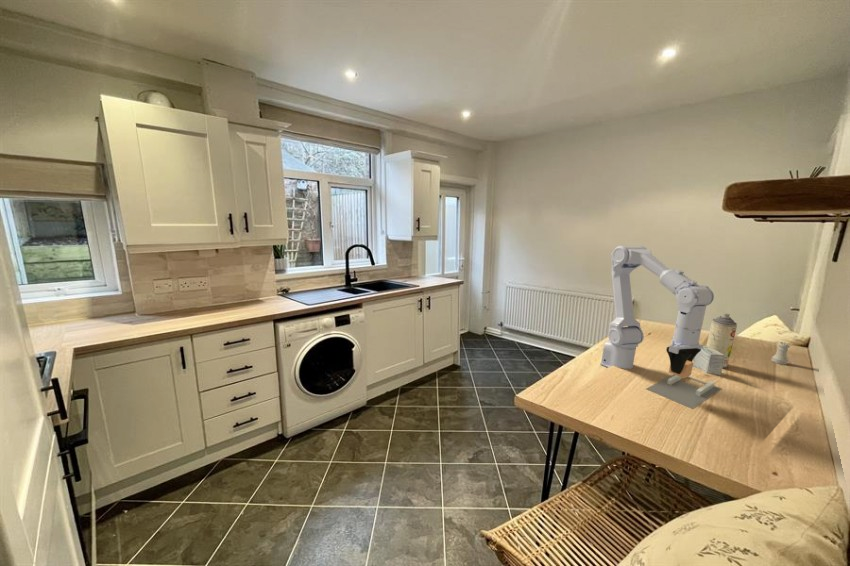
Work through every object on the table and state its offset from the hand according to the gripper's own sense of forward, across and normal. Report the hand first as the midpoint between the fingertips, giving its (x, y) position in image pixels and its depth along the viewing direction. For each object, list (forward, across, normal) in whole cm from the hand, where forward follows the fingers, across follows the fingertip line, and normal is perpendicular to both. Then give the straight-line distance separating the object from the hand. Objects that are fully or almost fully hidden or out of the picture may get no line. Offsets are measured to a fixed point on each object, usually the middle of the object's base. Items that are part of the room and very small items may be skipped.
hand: (679, 370), depth 94 cm
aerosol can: (+10, +43, +3) cm, 44 cm away
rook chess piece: (+10, +68, -9) cm, 69 cm away
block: (+1, 0, 0) cm, 1 cm away
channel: (+9, +8, 0) cm, 12 cm away
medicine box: (+10, +31, +2) cm, 32 cm away
